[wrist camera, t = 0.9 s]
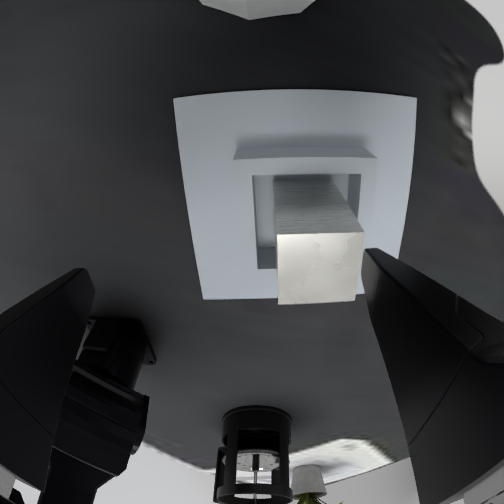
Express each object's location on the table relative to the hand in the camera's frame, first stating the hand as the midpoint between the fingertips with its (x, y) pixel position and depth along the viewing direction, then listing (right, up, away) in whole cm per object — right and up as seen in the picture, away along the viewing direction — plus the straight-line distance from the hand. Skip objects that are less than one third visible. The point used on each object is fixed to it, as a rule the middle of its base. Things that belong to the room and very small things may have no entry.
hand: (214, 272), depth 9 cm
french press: (+1, -23, +29) cm, 37 cm away
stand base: (+5, +4, +12) cm, 14 cm away
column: (+5, +4, +12) cm, 14 cm away
